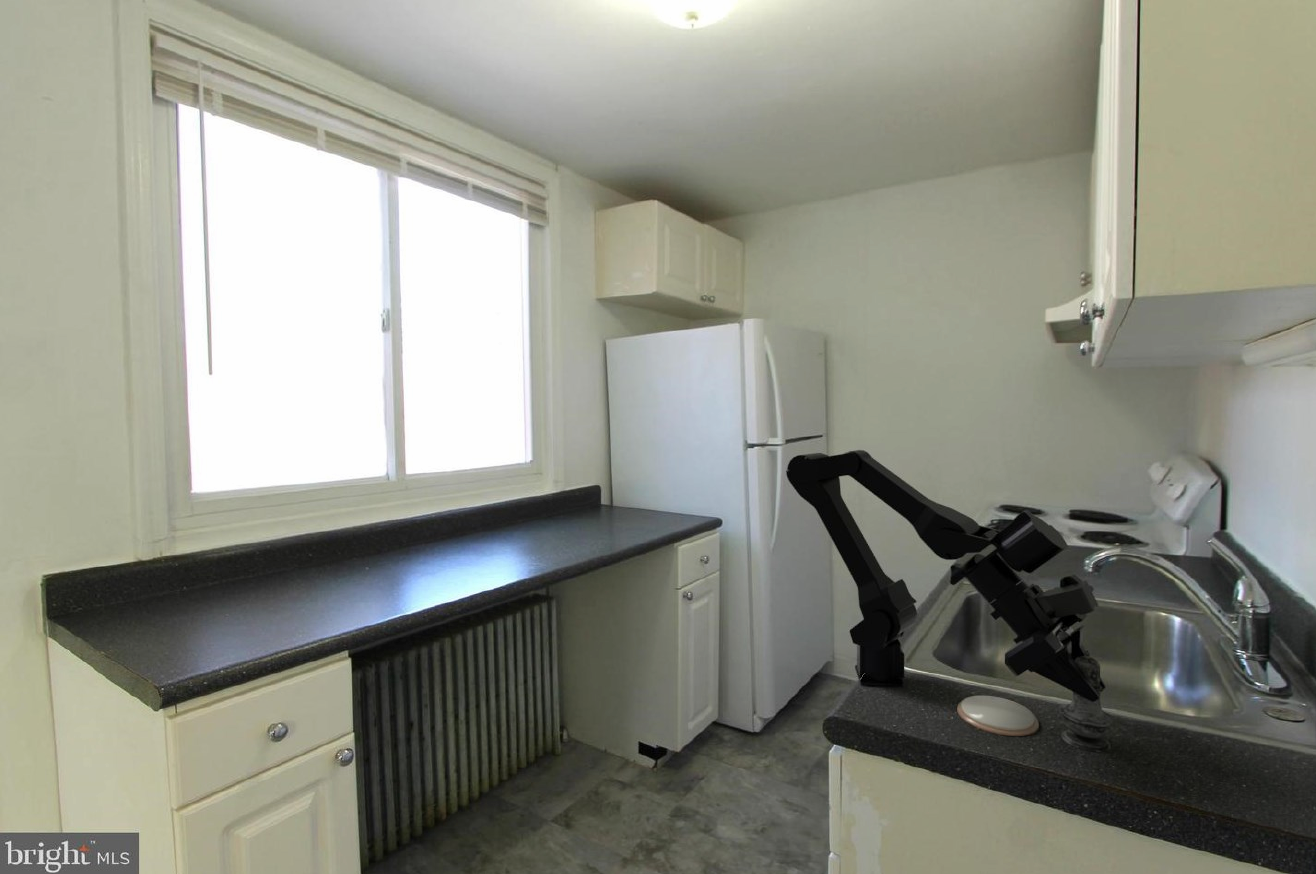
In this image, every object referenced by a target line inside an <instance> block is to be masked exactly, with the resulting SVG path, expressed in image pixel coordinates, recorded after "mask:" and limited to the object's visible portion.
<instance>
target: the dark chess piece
mask: <svg viewBox="0 0 1316 874" xmlns="http://www.w3.org/2000/svg"><path fill="white" fill-rule="evenodd" d="M1084 654H1085V656H1081V657H1077V658H1076V659H1075V661H1074V662H1075V663H1076V664H1077V666H1078V667H1079V668H1080V670H1081V671H1082V672H1083V674H1084V675H1085V677H1086V678H1087V679H1088V681H1089V682H1090V683H1091V685H1092V686H1093V688H1094V689H1095V690H1096V692H1097V693H1098V695H1099V697H1100V698H1099V699H1098V700H1096V701H1094V702H1091V701H1089V700H1087V699H1086V698H1084V697H1082V696H1080V695H1078V694H1076V693H1074V692H1073V691H1072V699H1071V701H1070V703H1065V704H1062V705H1060V706H1059V709H1058V710H1059V713H1060V714H1061V718H1062V721H1063V723H1064V725H1065V727H1067V728H1068V729H1066V730H1063V731H1062V732H1061V734H1060V737H1061V738H1062V740H1063V741H1064V742H1065V743H1067V744H1069V745H1070V746H1071V747H1075V748H1076V749H1077V748H1078V749H1080V750H1083V751H1085V752H1090V753H1091V752H1093V753H1105V752H1108V751H1110V750H1111V744H1110V742H1109V741H1108V740H1106V739H1105V738H1104V737H1105V736H1107V734H1108V733H1109V732H1110V730H1111V726H1112V725H1113V724H1114V723H1115V719H1114V718H1113V716H1112V715H1111V714H1109V713H1108V712H1106V711H1105V710H1103V709H1102V708H1103V707H1102V705H1101V692H1104V689H1103V687H1102V686H1101V685H1100V677H1101V665H1100V663H1099V662H1098V660H1096V659H1095V658H1093V657H1091V655H1092V654H1091V652H1090V651H1089V650H1086V652H1085V653H1084Z"/></svg>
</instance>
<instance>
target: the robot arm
mask: <svg viewBox="0 0 1316 874" xmlns="http://www.w3.org/2000/svg"><path fill="white" fill-rule="evenodd" d="M785 472H786V473H785V475H786V477H787V480H788V482H789V483H790V485H791V487H793V489H794V490H795V492H796V493H797V494H798V495H799V496H800V497H801V498H802V499H803V500H804V501H806V503H808V504H809V505H811V506H812V507H813V508H814V510H815V511H816V513H817V515H818V516H819V518H820V520H821V523H822V524H823V525H824V528H825V529H826V531H827V533H828V534H829V537H830V538H831V541H832V543H833V544H834V546H835V548H836V549H837V552H838V554H839V555H840V557H841V558H842V560H843V563H844V564H845V566H846V568H847V570H848V572H849V574H850V575H851V577H852V580H853V581H854V584H855V585H856V587H857V596H858V599H857V600H858V607H859V610H860V612H861V616H862V618H863V619H862V620H861V621H859V622H858V623H857V624H855V625H854V626H852V628H850V629H849V635H850V638H851V641H852V644H854V645H856V665H854V671H855V673H856V676H857V679H858V680H859V679H860V678H861V677H862V675H863V674H864V673H865V674H864V675H863V677H862V679H861V680H860V681H859V683H860V684H861V685H865V686H867V685H868V686H881V687H882V686H884V687H887V686H888V687H901V688H902V687H904V681H903V680H904V678H905V653H904V650H903V649H902V643H901V642H900V640H899V638H901V637H904V635H905V634H906V631H907V630H908V629H909V628H911V627H913V625H914V624H915V622H916V619H917V615H918V612H917V611H918V610H917V608H916V605H915V604H916V603H917V600H916V599H915V598H914V597H913V596H912V595H911V593H910V591H909V588H908V586H907V584H906V582H905V581H904V579H902V578H901V579H899V580H897V581H894V580H893V579H892V578H891V577H889V576H888V575H887V574H886V573H885V572H884V569H882V566H881V565H880V562H879V561H878V559H877V558H876V556H875V554H874V553H873V551H872V549H871V546H870V545H869V543H868V542H867V539H866V538H865V536H864V534H863V533H862V531H861V529H860V527H859V526H858V524H857V522H856V520H855V518H854V516H853V514H852V513H851V511H850V509H849V507H848V505H847V504H846V502H845V501H844V499H843V497H842V494H841V493H842V492H841V479H840V477H845V476H849V477H851V478H852V479H854V480H855V481H856V482H857V483H858V484H860V485H861V486H863V488H865V489H866V490H867V491H869V492H871V493H872V494H873V495H874V496H876V497H877V498H878V499H880V500H881V502H883V503H885V505H887V506H888V507H890V508H891V509H892V510H893V511H895V512H896V513H897V514H899V515H900V516H902V517H903V518H904V519H906V520H907V522H908V523H909V524H910V525H911V526H912V527H913V529H914V530H915V532H916V533H917V535H918V537H919V539H920V540H921V541H922V542H923V543H924V544H925V545H926V546H927V547H928V548H929V549H930V551H932V553H934V554H935V555H936V556H937V557H939V558H941V559H942V560H946V561H953V560H955V561H956V560H959V559H962V558H963V557H965V556H967V555H969V554H974V555H973V556H971V557H970V558H969V559H967V560H966V561H964V562H963V563H958V562H955V563H953V564H951V566H950V570H951V571H950V574H951V575H950V580H949V583H950V585H951V586H955V585H957V584H959V583H960V582H963V581H964V580H966V581H967V582H968V584H970V585H971V587H972V588H973V589H974V590H975V591H976V592H977V594H978V595H979V596H980V597H981V598H982V599H983V600H984V601H985V602H986V603H987V605H989V607H990V608H991V609H992V610H993V611H991V612H990V616H991V617H992V618H993V619H994V620H995V621H996V620H998V619H999V618H1000V619H1001V620H1002V621H1003V622H1004V624H1005V625H1006V626H1007V627H1008V628H1009V629H1010V630H1011V631H1012V633H1014V635H1015V637H1014V638H1013V639H1012V641H1013V642H1014V643H1015V644H1014V645H1012V646H1011V647H1010V648H1009V649H1008V650H1007V651H1006V652H1005V653H1004V664H1005V666H1006V667H1007V668H1008V669H1009V670H1010V672H1011V673H1012V674H1013V675H1014V677H1019V676H1020V675H1022V674H1023V673H1025V672H1026V671H1028V672H1030V673H1035V674H1038V675H1039V676H1041V677H1044V678H1045V679H1048V680H1049V681H1051V682H1054V683H1056V684H1058V685H1059V686H1061V687H1063V688H1065V689H1067V690H1069V691H1071V692H1072V693H1073V692H1074V693H1076V694H1078V695H1080V696H1082V697H1084V698H1086V699H1087V700H1089V701H1091V702H1094V701H1096V700H1098V699H1099V698H1100V699H1101V696H1100V697H1099V695H1098V693H1097V692H1096V690H1095V689H1094V688H1093V686H1092V685H1091V683H1090V682H1089V681H1088V679H1087V678H1086V677H1085V675H1084V674H1083V672H1082V671H1081V670H1080V668H1079V667H1078V666H1077V664H1076V663H1075V662H1074V661H1075V659H1076V658H1077V657H1081V656H1085V654H1084V653H1085V652H1086V651H1087V650H1086V649H1085V646H1084V645H1083V644H1084V643H1083V641H1084V640H1083V639H1084V638H1083V637H1084V630H1085V626H1084V625H1081V626H1079V627H1078V628H1076V629H1073V628H1072V626H1074V625H1075V624H1076V623H1081V622H1083V621H1084V620H1085V619H1086V618H1087V617H1088V615H1087V614H1090V613H1093V612H1094V611H1095V608H1096V607H1098V606H1099V603H1098V601H1097V599H1096V597H1095V594H1094V593H1093V592H1094V590H1095V589H1094V587H1093V586H1092V585H1090V584H1089V582H1088V581H1087V580H1082V579H1081V578H1079V576H1077V575H1076V574H1074V573H1073V574H1070V575H1065V576H1062V577H1061V578H1060V580H1059V587H1058V586H1057V587H1054V588H1053V589H1048V590H1043V589H1042V588H1041V587H1040V586H1039V584H1035V583H1031V584H1030V585H1029V584H1028V583H1027V582H1026V581H1025V580H1023V579H1024V578H1022V577H1021V576H1020V575H1019V574H1018V573H1021V572H1022V571H1023V572H1025V573H1027V574H1034V573H1035V572H1037V571H1038V570H1040V569H1041V568H1042V567H1044V566H1045V565H1047V564H1048V563H1050V562H1052V560H1054V559H1055V558H1056V557H1058V556H1059V555H1061V554H1062V553H1064V552H1065V551H1066V550H1068V547H1069V546H1068V544H1067V542H1066V540H1065V539H1064V537H1063V535H1061V533H1060V532H1059V531H1058V530H1057V529H1056V528H1055V527H1054V526H1053V525H1051V524H1048V523H1047V522H1046V521H1044V520H1043V519H1041V518H1040V517H1038V516H1036V515H1034V514H1033V513H1032V512H1031V511H1030V510H1029V509H1026V510H1024V511H1022V512H1020V513H1019V514H1018V515H1016V516H1015V518H1014V519H1013V520H1012V522H1010V523H1009V524H1007V525H1006V526H1005V527H1004V528H1002V529H1001V530H1000V529H995V528H992V527H988V526H984V525H979V524H978V522H976V521H975V519H973V518H971V517H969V516H968V515H966V514H964V513H963V512H960V511H958V510H956V509H954V508H951V507H949V506H946V505H945V504H944V505H943V504H940V503H938V502H936V501H933V500H931V499H929V498H928V497H927V496H926V495H924V494H922V493H921V492H920V491H918V490H917V489H916V488H914V487H913V486H912V485H910V484H909V483H908V482H906V481H905V480H903V479H902V478H901V477H900V476H898V475H897V474H896V473H894V472H893V471H891V470H890V469H888V468H887V467H886V466H884V465H883V464H881V463H880V462H879V461H877V460H876V459H875V458H873V457H872V455H871V454H870V453H869V452H868V451H867V450H866V451H865V450H862V449H857V450H849V451H846V452H843V453H841V454H834V455H827V454H825V453H823V452H816V453H815V452H814V453H806V454H799V455H798V454H797V455H796V456H793V457H792V458H791V459H790V460H789V462H788V464H787V468H786V471H785ZM993 546H994V548H995V549H993V550H992V551H991V552H989V554H987V555H983V554H981V552H983V551H985V550H986V549H989V548H990V547H993ZM1017 572H1018V573H1017ZM902 679H903V680H902ZM1100 685H1101V686H1102V687H1103V690H1105V689H1106V687H1107V686H1106V684H1105V682H1104V681H1103V679H1102V677H1101V676H1100Z"/></svg>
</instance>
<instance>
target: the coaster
mask: <svg viewBox="0 0 1316 874" xmlns="http://www.w3.org/2000/svg"><path fill="white" fill-rule="evenodd" d="M956 709H957V710H956V712H957V715H959V717H960V718H961V719H962V720H963V721H964V722H965V723H968V724H969V725H970V726H972V727H974V728H977V729H979V730H981V731H985V732H987V733H992V734H995V735H1001V736H1007V737H1008V736H1009V737H1023V736H1029V735H1032V734H1034V733H1036V732H1037V731H1038V730H1039V726H1040V724H1039V719H1038V718H1037V717H1036V716H1035V715H1034V713H1033V712H1032V711H1031V710H1030V709H1029V708H1027V707H1026V706H1024V705H1022V704H1020V703H1018V702H1015V701H1014V700H1010V699H1008V698H1002V697H999V696H998V697H997V696H992V695H973V696H968V697H965V698H964V699H962V701H960V702H959V703H958V705H957V708H956Z"/></svg>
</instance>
